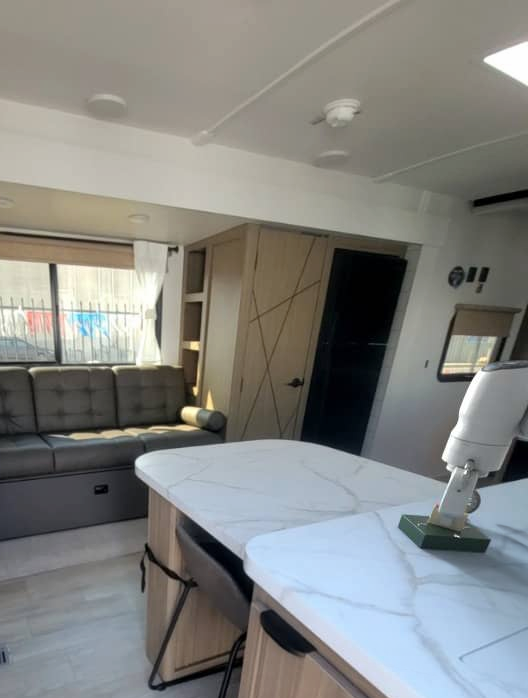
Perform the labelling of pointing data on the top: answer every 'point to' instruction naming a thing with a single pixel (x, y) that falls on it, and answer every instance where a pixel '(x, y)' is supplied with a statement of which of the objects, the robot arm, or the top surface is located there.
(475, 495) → the pocket watch
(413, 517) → the dark green flat block
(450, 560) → the top surface
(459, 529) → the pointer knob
